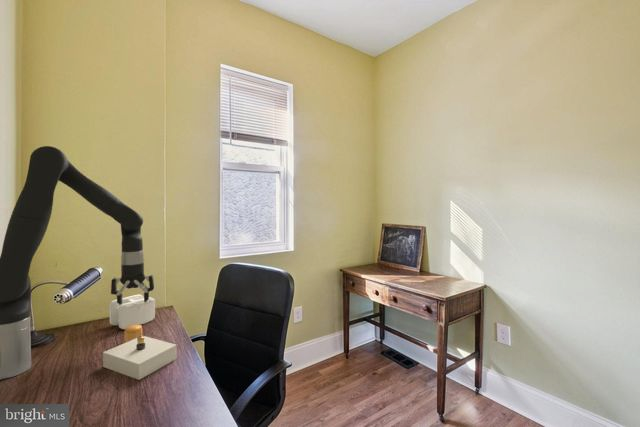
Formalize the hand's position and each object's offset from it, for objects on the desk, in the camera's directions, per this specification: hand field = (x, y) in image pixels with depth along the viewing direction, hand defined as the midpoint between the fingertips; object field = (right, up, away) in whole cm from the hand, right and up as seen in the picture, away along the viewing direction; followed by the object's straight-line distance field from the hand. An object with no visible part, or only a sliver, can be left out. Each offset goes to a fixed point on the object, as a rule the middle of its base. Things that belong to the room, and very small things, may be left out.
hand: (133, 302), depth 117 cm
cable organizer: (-12, -16, +19) cm, 27 cm away
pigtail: (+12, -11, -15) cm, 22 cm away
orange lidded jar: (0, -16, 0) cm, 16 cm away
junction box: (+12, -16, -15) cm, 25 cm away
